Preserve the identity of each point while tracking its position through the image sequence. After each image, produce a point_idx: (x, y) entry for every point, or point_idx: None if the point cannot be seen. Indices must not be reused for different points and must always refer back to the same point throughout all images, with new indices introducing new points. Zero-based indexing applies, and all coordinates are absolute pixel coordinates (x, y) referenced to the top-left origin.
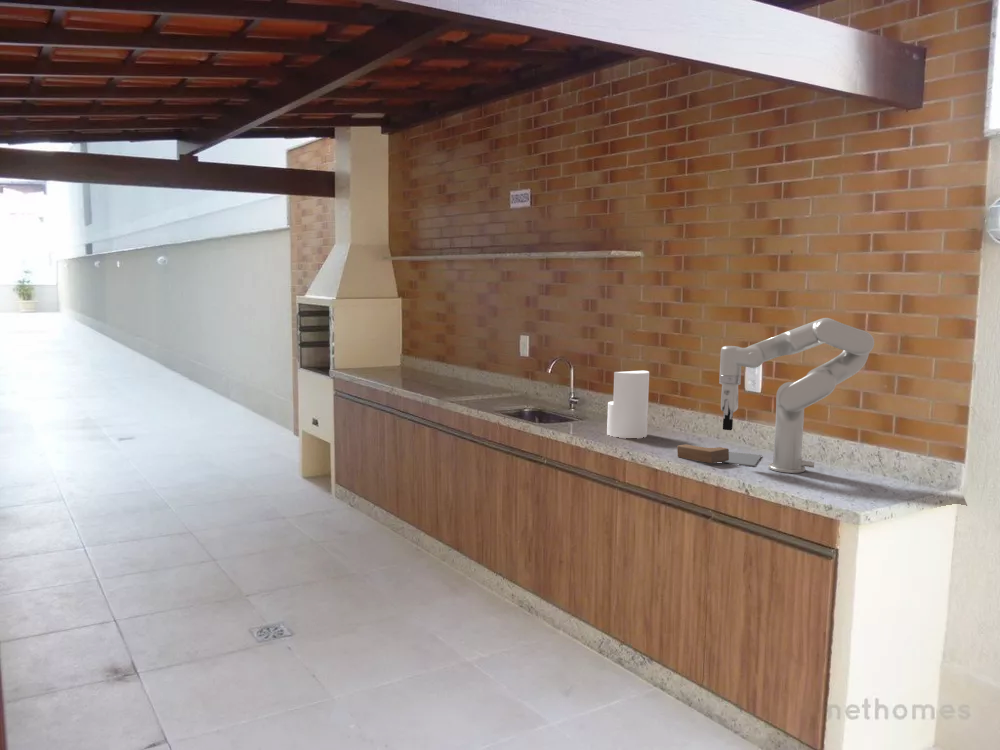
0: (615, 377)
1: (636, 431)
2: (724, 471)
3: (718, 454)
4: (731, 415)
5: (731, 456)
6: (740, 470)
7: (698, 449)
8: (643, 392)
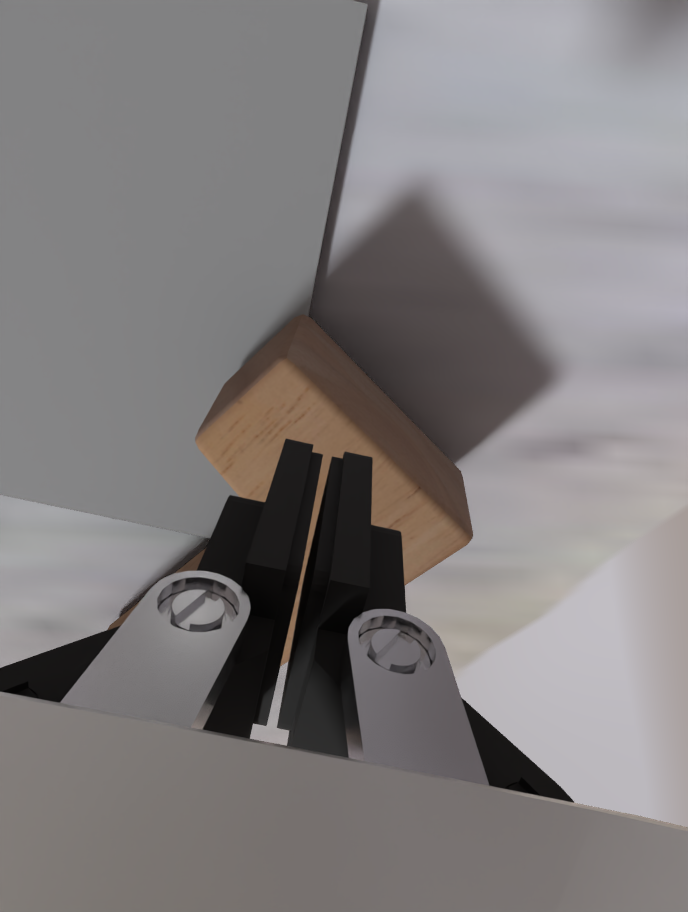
0: None
1: None
2: (653, 362)
3: (408, 450)
4: (397, 707)
5: None
6: (587, 198)
7: None
8: None
